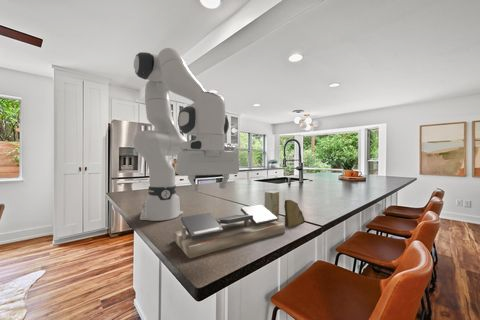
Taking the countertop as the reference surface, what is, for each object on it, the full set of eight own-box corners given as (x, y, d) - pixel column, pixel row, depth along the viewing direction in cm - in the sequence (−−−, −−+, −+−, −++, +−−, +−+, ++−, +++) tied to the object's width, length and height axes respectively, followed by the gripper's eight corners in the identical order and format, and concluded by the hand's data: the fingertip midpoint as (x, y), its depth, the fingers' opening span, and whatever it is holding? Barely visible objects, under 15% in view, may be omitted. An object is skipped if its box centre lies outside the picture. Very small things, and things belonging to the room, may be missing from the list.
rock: (300, 213, 92) (279, 210, 91) (308, 200, 87) (285, 197, 86) (307, 234, 84) (283, 232, 83) (315, 222, 79) (290, 219, 78)
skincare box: (272, 221, 88) (272, 193, 87) (263, 219, 90) (264, 192, 90) (279, 218, 93) (279, 191, 93) (271, 216, 95) (271, 190, 95)
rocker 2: (240, 210, 78) (241, 207, 78) (260, 206, 84) (261, 204, 83) (255, 225, 70) (256, 222, 70) (277, 220, 76) (277, 218, 76)
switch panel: (174, 241, 66) (174, 221, 66) (260, 222, 86) (260, 206, 86) (189, 258, 55) (189, 234, 55) (284, 232, 75) (284, 214, 75)
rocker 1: (180, 220, 65) (181, 216, 65) (209, 215, 71) (209, 212, 71) (191, 239, 58) (192, 235, 57) (222, 232, 63) (223, 229, 63)
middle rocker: (213, 222, 72) (213, 218, 72) (237, 218, 77) (237, 214, 77) (227, 224, 64) (227, 219, 64) (253, 219, 69) (252, 215, 69)
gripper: (233, 146, 72) (232, 185, 72) (174, 143, 61) (173, 189, 61) (243, 146, 67) (242, 188, 67) (181, 142, 55) (180, 193, 56)
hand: (209, 189), depth 64 cm, fingers open, 8 cm apart
